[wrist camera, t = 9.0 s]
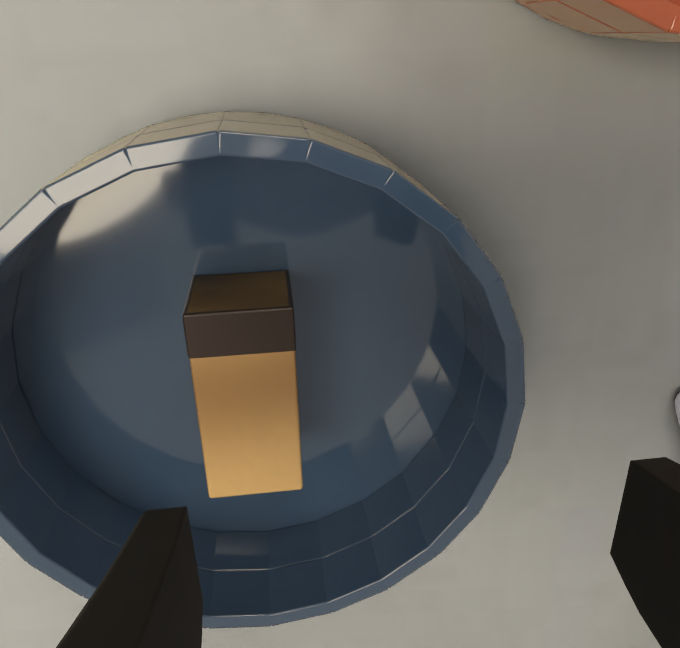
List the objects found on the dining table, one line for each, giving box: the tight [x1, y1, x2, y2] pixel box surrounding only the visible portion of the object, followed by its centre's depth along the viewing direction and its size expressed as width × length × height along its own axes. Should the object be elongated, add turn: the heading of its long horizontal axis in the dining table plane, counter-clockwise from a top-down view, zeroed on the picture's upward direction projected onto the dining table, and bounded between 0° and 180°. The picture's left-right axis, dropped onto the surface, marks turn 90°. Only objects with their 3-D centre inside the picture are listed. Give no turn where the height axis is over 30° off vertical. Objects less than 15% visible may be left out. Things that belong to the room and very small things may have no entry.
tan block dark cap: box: [182, 270, 303, 498], centre depth 17 cm, size 6×3×3 cm, turn 1°
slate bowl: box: [0, 111, 525, 628], centre depth 17 cm, size 14×14×4 cm
